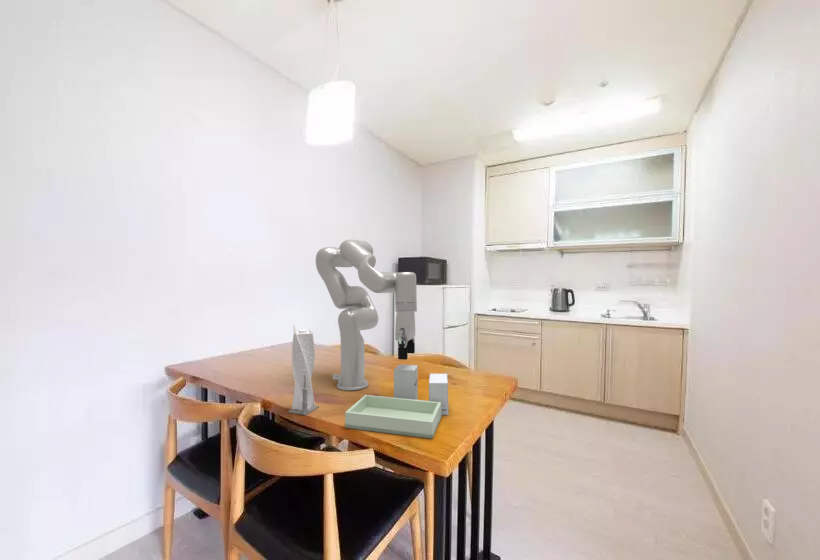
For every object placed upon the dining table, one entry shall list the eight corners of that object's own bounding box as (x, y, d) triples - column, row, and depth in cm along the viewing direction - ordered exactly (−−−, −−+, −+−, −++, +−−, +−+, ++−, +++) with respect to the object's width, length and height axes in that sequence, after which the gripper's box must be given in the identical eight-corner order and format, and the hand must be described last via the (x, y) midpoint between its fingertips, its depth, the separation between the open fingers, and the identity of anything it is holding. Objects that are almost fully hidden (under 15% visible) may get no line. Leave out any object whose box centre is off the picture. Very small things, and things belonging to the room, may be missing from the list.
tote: (345, 427, 96) (345, 412, 96) (365, 408, 110) (365, 394, 110) (432, 438, 89) (432, 422, 89) (441, 416, 103) (441, 402, 103)
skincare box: (429, 402, 115) (429, 372, 115) (448, 403, 115) (448, 373, 115) (428, 414, 105) (428, 382, 105) (448, 415, 104) (448, 382, 104)
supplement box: (414, 407, 110) (414, 370, 110) (393, 406, 112) (393, 369, 112) (418, 399, 118) (418, 364, 118) (398, 398, 119) (398, 363, 119)
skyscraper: (284, 411, 107) (283, 326, 107) (300, 403, 115) (300, 323, 115) (305, 415, 104) (305, 327, 104) (320, 406, 112) (320, 324, 112)
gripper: (402, 305, 124) (403, 350, 124) (387, 309, 107) (388, 361, 107) (422, 305, 122) (422, 351, 122) (409, 309, 105) (410, 362, 105)
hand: (406, 356), depth 114 cm, fingers open, 9 cm apart
